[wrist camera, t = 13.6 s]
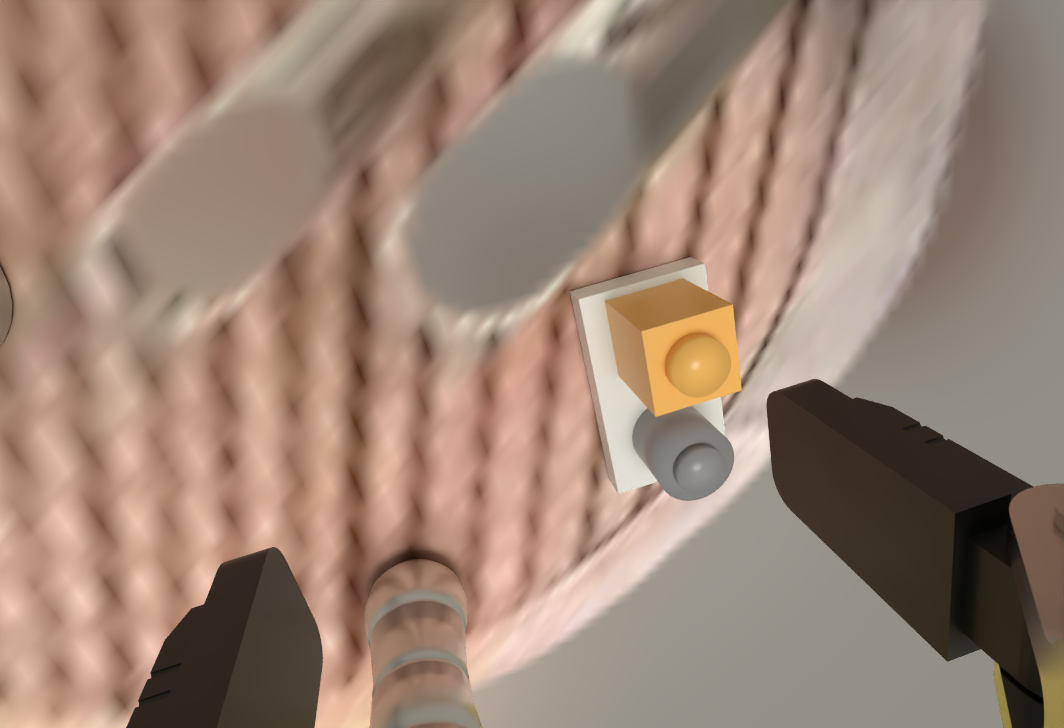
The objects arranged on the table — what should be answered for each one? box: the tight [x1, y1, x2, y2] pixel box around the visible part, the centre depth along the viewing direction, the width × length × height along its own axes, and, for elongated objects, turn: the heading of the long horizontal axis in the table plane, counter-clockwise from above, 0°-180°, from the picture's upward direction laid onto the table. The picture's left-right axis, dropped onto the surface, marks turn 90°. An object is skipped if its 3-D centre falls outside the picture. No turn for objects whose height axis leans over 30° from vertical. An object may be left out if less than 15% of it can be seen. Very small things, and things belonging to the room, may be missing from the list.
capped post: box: [632, 406, 734, 501], centre depth 39 cm, size 5×5×5 cm
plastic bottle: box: [364, 559, 482, 728], centre depth 35 cm, size 6×7×20 cm
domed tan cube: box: [605, 279, 742, 417], centre depth 35 cm, size 5×5×7 cm
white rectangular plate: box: [570, 257, 726, 494], centre depth 41 cm, size 8×14×2 cm, turn 13°
